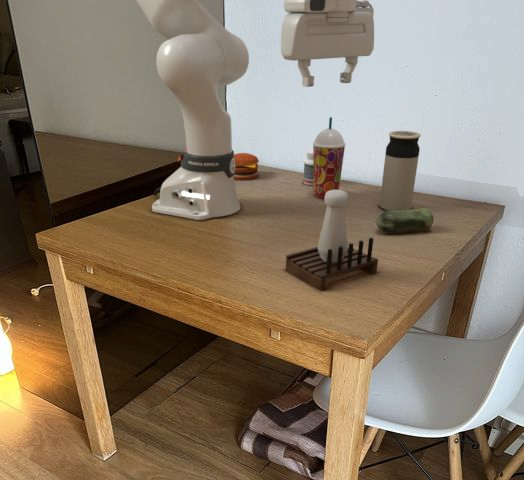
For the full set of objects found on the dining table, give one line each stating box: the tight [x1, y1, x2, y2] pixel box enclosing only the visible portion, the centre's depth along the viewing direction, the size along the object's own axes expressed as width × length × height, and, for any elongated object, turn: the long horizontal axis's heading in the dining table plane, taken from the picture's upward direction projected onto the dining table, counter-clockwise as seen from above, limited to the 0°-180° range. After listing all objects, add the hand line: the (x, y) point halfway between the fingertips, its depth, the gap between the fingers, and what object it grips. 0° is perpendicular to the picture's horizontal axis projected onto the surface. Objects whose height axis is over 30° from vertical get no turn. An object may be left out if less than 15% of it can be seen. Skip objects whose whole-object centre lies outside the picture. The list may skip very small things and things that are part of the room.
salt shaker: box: [317, 189, 349, 263], centre depth 102 cm, size 6×6×13 cm
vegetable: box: [374, 207, 435, 234], centre depth 124 cm, size 14×5×5 cm, turn 102°
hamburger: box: [234, 152, 260, 181], centre depth 164 cm, size 9×10×7 cm
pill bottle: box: [303, 149, 314, 186], centre depth 157 cm, size 5×5×9 cm
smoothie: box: [312, 116, 346, 199], centre depth 143 cm, size 8×8×20 cm
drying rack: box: [285, 237, 379, 291], centre depth 105 cm, size 11×14×7 cm
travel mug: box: [379, 130, 421, 211], centre depth 135 cm, size 8×8×18 cm
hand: (327, 84), depth 106 cm, fingers open, 8 cm apart
